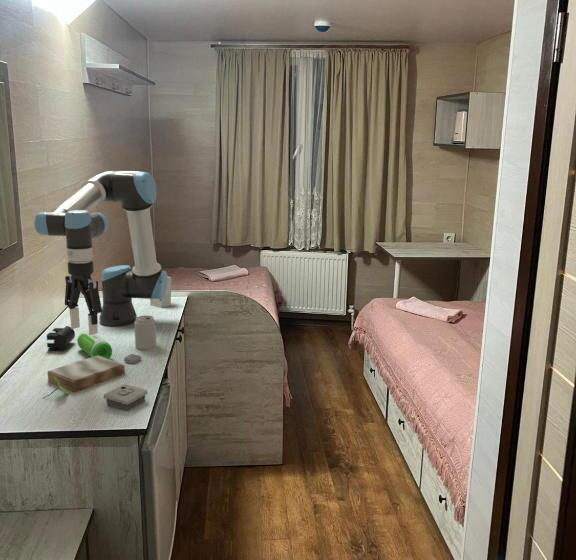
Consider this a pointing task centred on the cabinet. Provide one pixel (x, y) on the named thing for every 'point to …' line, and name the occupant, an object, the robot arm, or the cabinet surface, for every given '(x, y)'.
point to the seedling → (59, 387)
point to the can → (145, 333)
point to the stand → (86, 373)
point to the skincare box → (165, 299)
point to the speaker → (94, 345)
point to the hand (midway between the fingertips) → (84, 330)
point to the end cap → (60, 338)
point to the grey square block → (132, 358)
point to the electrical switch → (125, 397)
